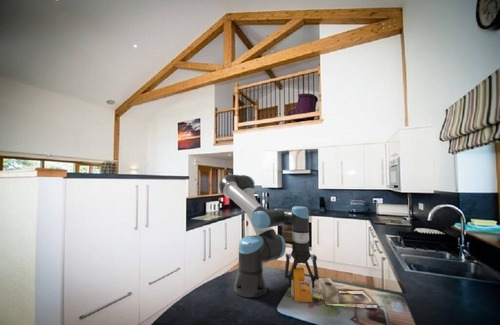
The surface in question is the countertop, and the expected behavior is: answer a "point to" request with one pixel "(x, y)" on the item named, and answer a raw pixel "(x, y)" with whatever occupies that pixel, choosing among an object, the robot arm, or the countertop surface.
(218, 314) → the countertop surface
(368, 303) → the seat holder
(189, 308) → the countertop surface
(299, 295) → the bracket
